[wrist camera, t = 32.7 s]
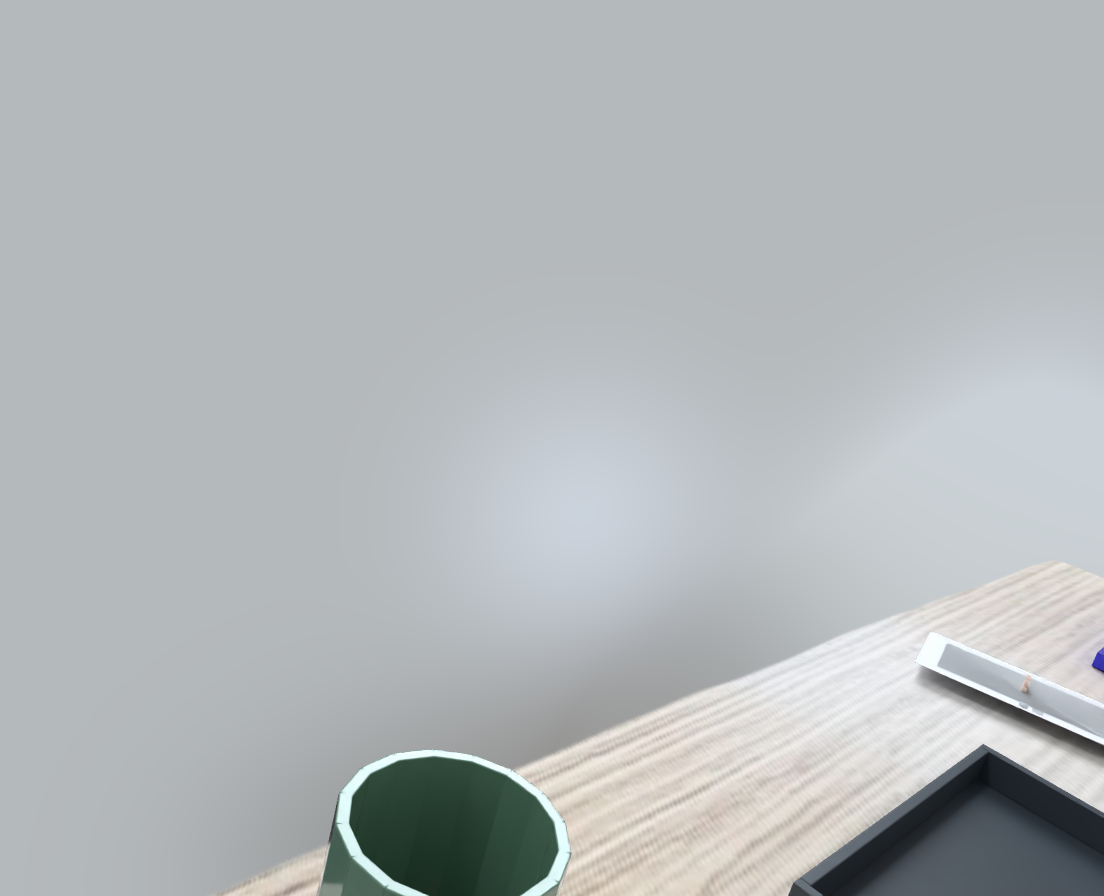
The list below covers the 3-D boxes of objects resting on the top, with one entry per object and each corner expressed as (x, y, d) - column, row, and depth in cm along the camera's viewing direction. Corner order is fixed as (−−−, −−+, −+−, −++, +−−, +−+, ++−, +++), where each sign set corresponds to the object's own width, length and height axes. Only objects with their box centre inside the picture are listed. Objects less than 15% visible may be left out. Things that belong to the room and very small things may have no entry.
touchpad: (926, 643, 80) (935, 619, 79) (1126, 728, 74) (1138, 703, 73) (909, 674, 73) (919, 649, 73) (1128, 772, 67) (1141, 745, 66)
